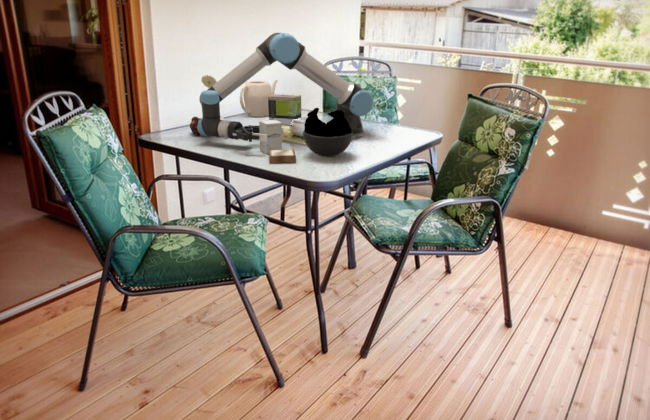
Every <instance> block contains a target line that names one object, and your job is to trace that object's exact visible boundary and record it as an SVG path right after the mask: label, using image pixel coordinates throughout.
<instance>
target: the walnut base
mask: <svg viewBox="0 0 650 420" xmlns="http://www.w3.org/2000/svg"><path fill="white" fill-rule="evenodd" d="M268 156H269V157H268V159H269V161H268V162H269V165H281V164H282V165H285V164H297V161H296V160H297V158H296V152H295V149H294V148H293V149H288V148H287V149H282V150H269V154H268Z"/></svg>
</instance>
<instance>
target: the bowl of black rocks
mask: <svg viewBox="0 0 650 420" xmlns="http://www.w3.org/2000/svg"><path fill="white" fill-rule="evenodd" d="M319 111H320V108H319V107H315V108H313V109H312V110H310V111H309V112H307V114H306V116H307V117H306V119H305V121H304V130H302V136H303V140H304V143H305V145H306V146H307V148H308V149H309V151H311V152H312V153H314V154H316V155H317V156H320V157H325V158H332V157H335V156H338V155H340V154H342V153H343V152H344V151H346V149H348V148H349V146H350V145H351V142H352V140H353V136H354V133H353V132H352V130H351V127H350V126H349V123H348V121H347V119H346V118H345V114H344V112H343V111H342V110H336V109H335V110H332V111H330V112H328V113H326V115H327V116H329V117H331V118H332V119H330V120H329V121H327V122H325V121H323V120H321V119H320V118H319V116H318V114H319V113H318V112H319Z"/></svg>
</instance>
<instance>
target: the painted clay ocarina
mask: <svg viewBox="0 0 650 420" xmlns="http://www.w3.org/2000/svg"><path fill="white" fill-rule="evenodd" d="M200 119H201V118H199V117H198V116H193V117H192V118H191V122H190V123H189V128H190V131H191V132H192V135H195V136H196V137H200V136H201V134H200V133H199V132H198V129H197V125H198V121H199V120H200Z"/></svg>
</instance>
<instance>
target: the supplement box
mask: <svg viewBox="0 0 650 420" xmlns="http://www.w3.org/2000/svg"><path fill="white" fill-rule="evenodd" d="M258 124H259V125H258V126H259V133H258V134H266V135H268V141H267V142H266V141H259V151H261V152H262V153H264V154H265V155H269V150H283V135H282V128H283V125H282V123H281V122H279V121H277V120H269V119H268V120H259V121H258Z"/></svg>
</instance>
